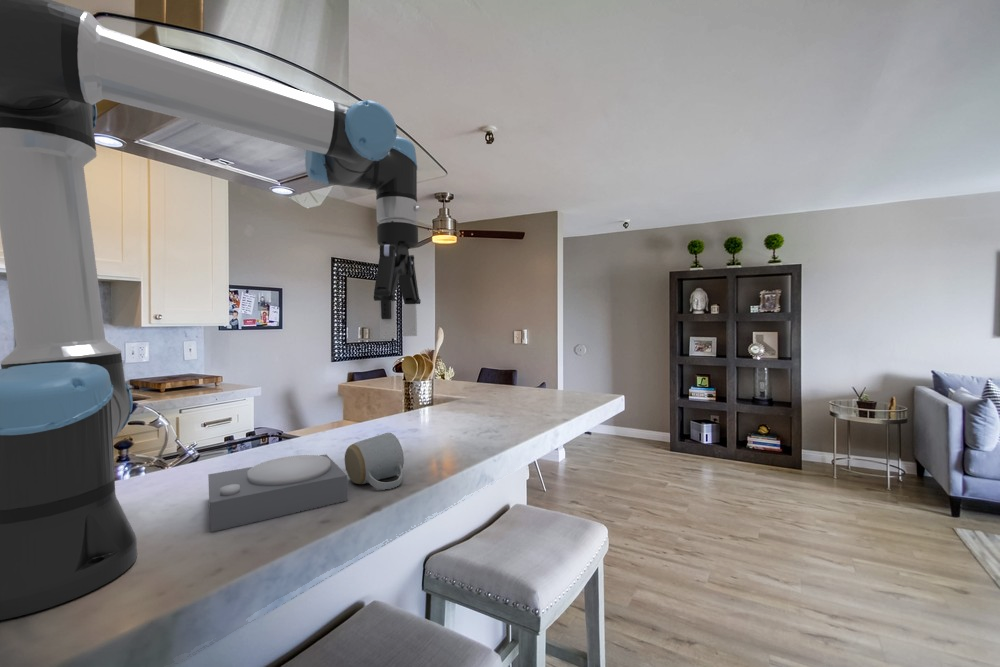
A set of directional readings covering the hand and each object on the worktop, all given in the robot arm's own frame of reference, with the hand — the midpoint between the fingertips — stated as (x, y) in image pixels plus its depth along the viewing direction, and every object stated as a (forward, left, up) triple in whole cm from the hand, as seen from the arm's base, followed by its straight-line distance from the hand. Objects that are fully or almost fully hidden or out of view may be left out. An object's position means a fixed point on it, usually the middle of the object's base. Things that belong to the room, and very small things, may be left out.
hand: (400, 337), depth 86 cm
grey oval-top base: (-22, -3, -25) cm, 34 cm away
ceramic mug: (-6, -5, -25) cm, 26 cm away
